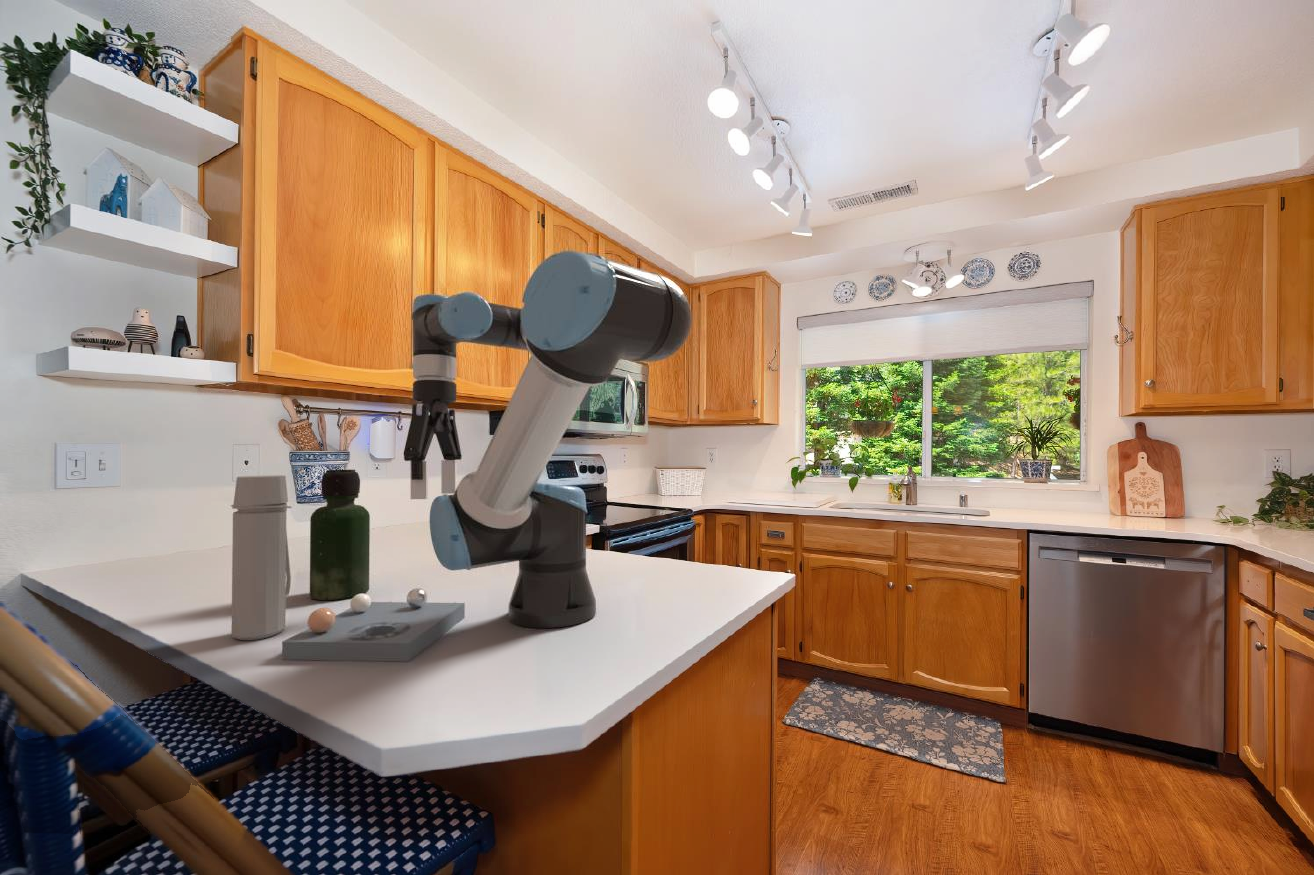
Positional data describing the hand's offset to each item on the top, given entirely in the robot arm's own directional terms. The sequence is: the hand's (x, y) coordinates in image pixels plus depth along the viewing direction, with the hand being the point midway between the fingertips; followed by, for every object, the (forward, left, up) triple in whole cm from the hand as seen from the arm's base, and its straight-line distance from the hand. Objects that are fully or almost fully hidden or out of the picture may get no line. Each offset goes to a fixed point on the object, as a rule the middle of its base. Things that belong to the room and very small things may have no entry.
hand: (435, 496), depth 103 cm
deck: (+1, +15, -21) cm, 25 cm away
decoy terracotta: (+7, +21, -16) cm, 28 cm away
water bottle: (+21, +14, -21) cm, 33 cm away
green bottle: (+23, -9, -21) cm, 33 cm away
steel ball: (-1, +8, -16) cm, 18 cm away
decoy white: (+7, +11, -17) cm, 21 cm away
